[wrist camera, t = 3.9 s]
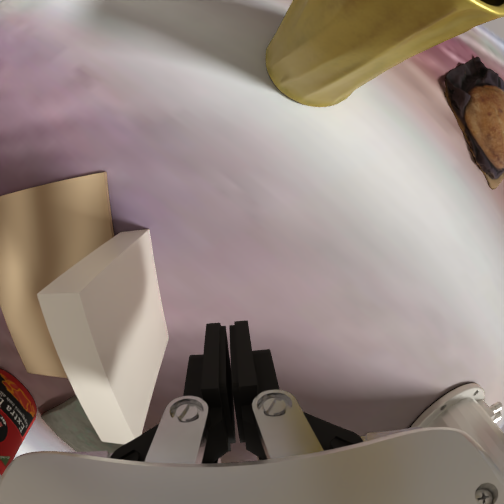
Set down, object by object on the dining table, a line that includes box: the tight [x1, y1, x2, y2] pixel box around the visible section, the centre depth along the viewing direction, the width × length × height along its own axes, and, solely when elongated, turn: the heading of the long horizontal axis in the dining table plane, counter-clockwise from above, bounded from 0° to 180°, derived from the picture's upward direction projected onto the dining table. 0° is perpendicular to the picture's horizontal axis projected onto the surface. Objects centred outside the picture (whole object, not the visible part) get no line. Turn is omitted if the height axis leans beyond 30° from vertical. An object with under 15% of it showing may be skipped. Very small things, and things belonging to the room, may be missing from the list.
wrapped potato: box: [444, 57, 504, 190], centre depth 16 cm, size 11×8×4 cm
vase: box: [266, 0, 504, 107], centre depth 9 cm, size 6×6×14 cm
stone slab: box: [41, 396, 125, 453], centre depth 25 cm, size 22×3×10 cm
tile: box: [37, 229, 169, 444], centre depth 15 cm, size 2×8×10 cm, turn 4°
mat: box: [0, 172, 114, 378], centre depth 19 cm, size 13×16×1 cm
